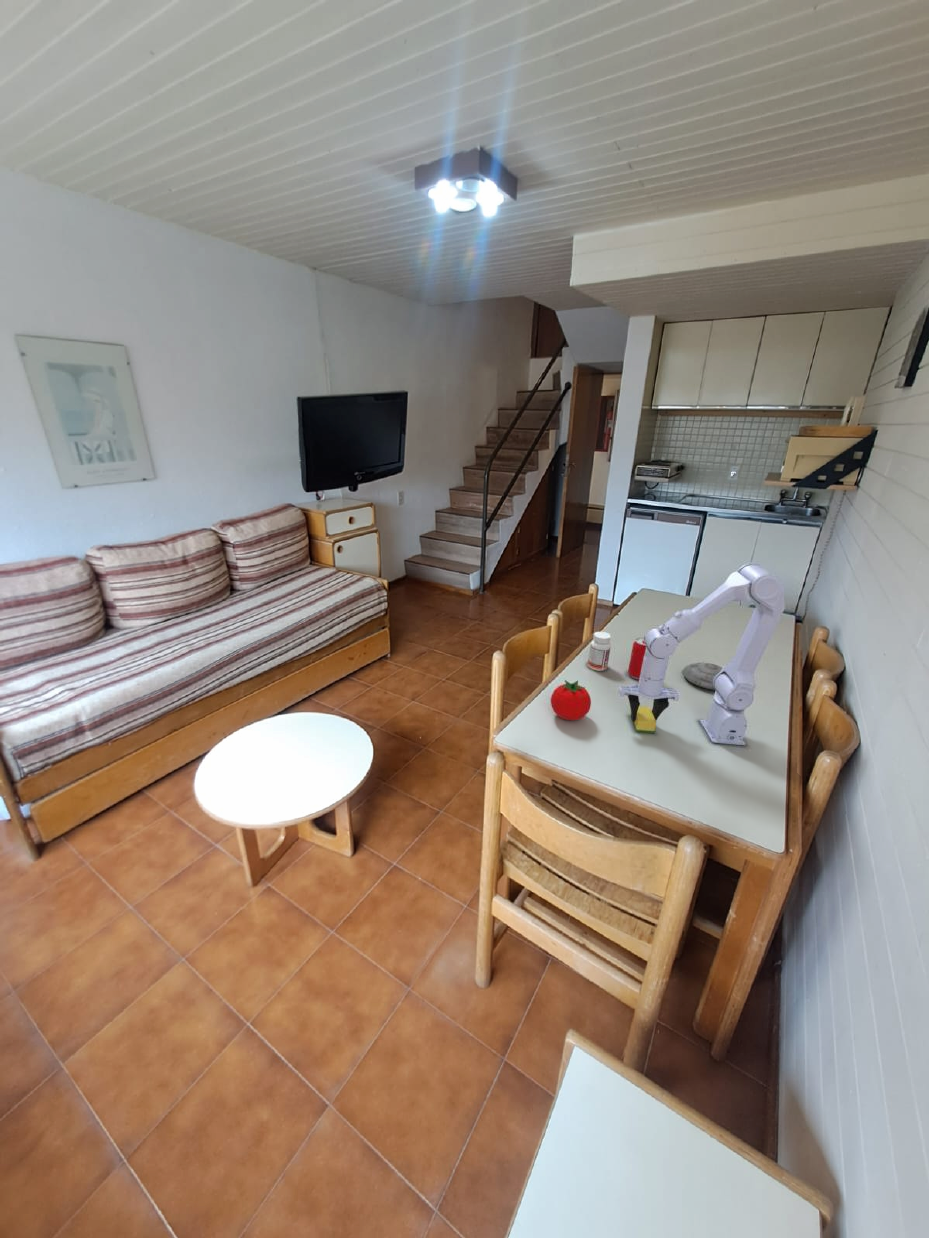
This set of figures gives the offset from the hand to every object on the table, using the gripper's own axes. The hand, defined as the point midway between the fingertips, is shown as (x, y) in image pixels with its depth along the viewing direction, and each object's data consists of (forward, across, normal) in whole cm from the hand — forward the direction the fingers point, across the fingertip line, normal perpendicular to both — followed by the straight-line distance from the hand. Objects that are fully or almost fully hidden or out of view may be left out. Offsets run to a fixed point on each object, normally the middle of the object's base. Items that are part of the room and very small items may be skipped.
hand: (642, 720), depth 129 cm
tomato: (+2, +19, -1) cm, 19 cm away
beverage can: (+2, -5, -27) cm, 27 cm away
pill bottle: (+2, +7, -31) cm, 32 cm away
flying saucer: (+2, -26, -27) cm, 38 cm away
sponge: (+1, 0, 0) cm, 1 cm away
